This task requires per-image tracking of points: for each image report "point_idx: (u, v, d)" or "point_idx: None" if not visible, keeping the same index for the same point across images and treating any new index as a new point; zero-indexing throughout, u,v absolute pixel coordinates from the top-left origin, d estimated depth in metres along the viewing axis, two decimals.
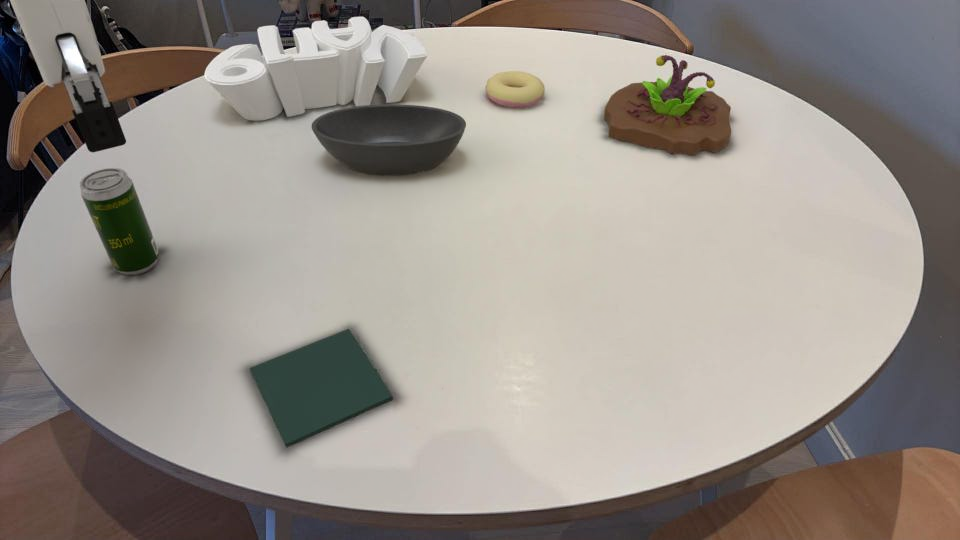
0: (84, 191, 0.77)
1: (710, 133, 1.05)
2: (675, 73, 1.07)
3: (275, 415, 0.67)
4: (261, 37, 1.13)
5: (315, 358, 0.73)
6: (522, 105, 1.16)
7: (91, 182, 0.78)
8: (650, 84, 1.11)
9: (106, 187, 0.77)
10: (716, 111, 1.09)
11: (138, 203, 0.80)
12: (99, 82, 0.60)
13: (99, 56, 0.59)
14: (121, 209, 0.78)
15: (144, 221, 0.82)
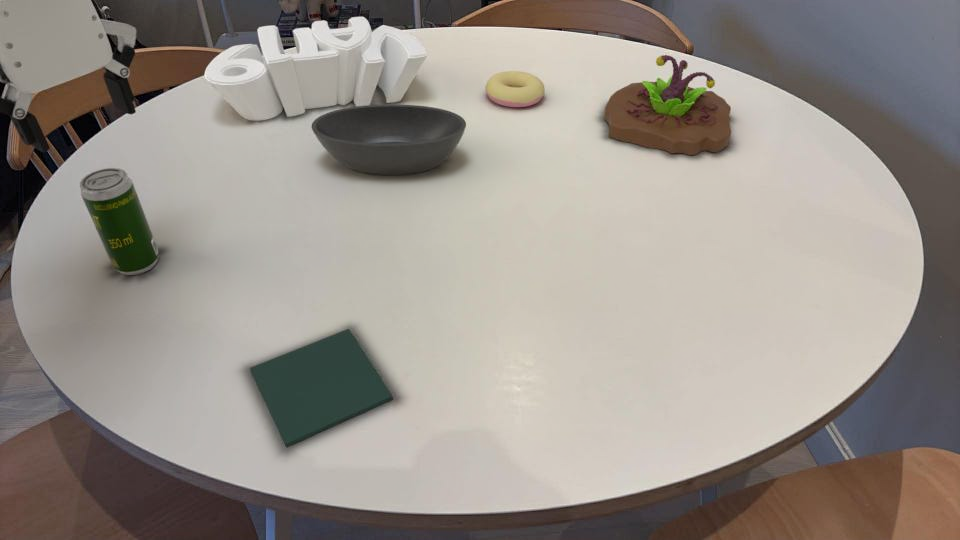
0: (84, 191, 0.77)
1: (710, 133, 1.05)
2: (675, 73, 1.07)
3: (275, 415, 0.67)
4: (261, 37, 1.13)
5: (315, 358, 0.73)
6: (522, 105, 1.16)
7: (91, 182, 0.78)
8: (650, 84, 1.11)
9: (106, 187, 0.77)
10: (716, 111, 1.09)
11: (138, 203, 0.80)
12: (17, 97, 0.66)
13: (16, 77, 0.65)
14: (121, 209, 0.78)
15: (144, 221, 0.82)
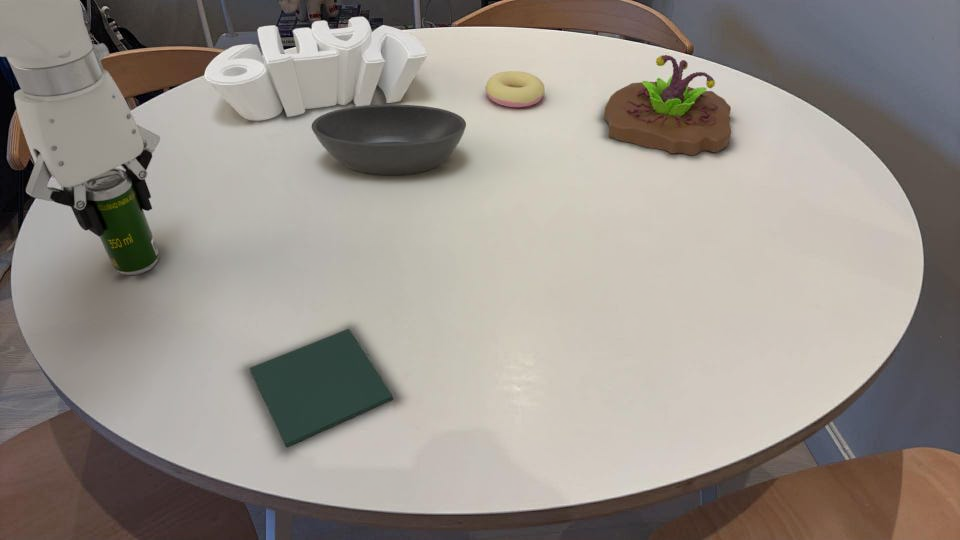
0: None
1: (710, 133, 1.05)
2: (675, 73, 1.07)
3: (275, 415, 0.67)
4: (261, 37, 1.13)
5: (315, 358, 0.73)
6: (522, 105, 1.16)
7: (91, 182, 0.78)
8: (650, 84, 1.11)
9: (106, 187, 0.77)
10: (716, 111, 1.09)
11: (137, 203, 0.80)
12: (73, 193, 0.74)
13: (59, 175, 0.72)
14: (121, 209, 0.78)
15: (144, 221, 0.82)
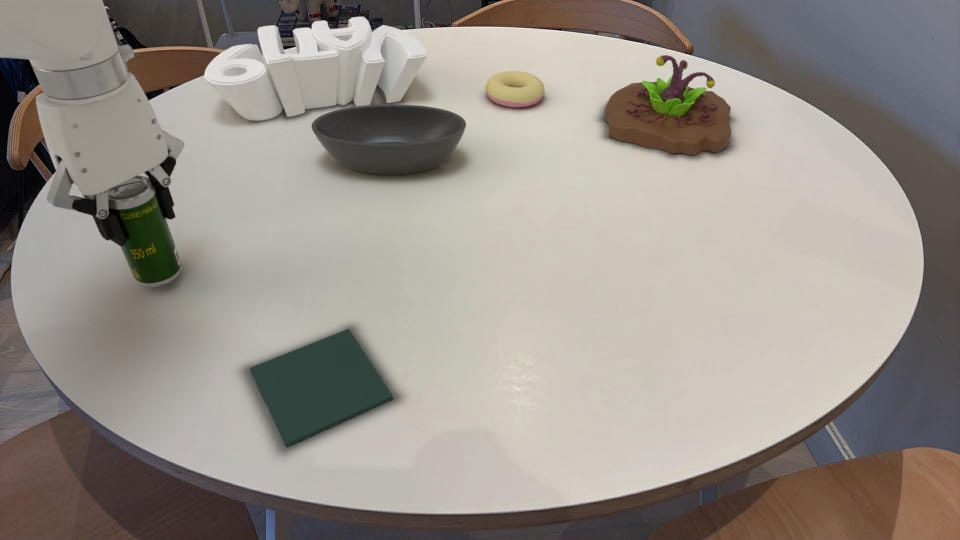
0: None
1: (710, 133, 1.05)
2: (675, 73, 1.07)
3: (275, 415, 0.67)
4: (261, 37, 1.13)
5: (315, 358, 0.73)
6: (522, 105, 1.16)
7: (113, 190, 0.74)
8: (650, 84, 1.11)
9: (129, 195, 0.73)
10: (716, 111, 1.09)
11: (161, 212, 0.77)
12: (96, 201, 0.71)
13: (81, 182, 0.68)
14: (144, 218, 0.75)
15: (167, 230, 0.78)
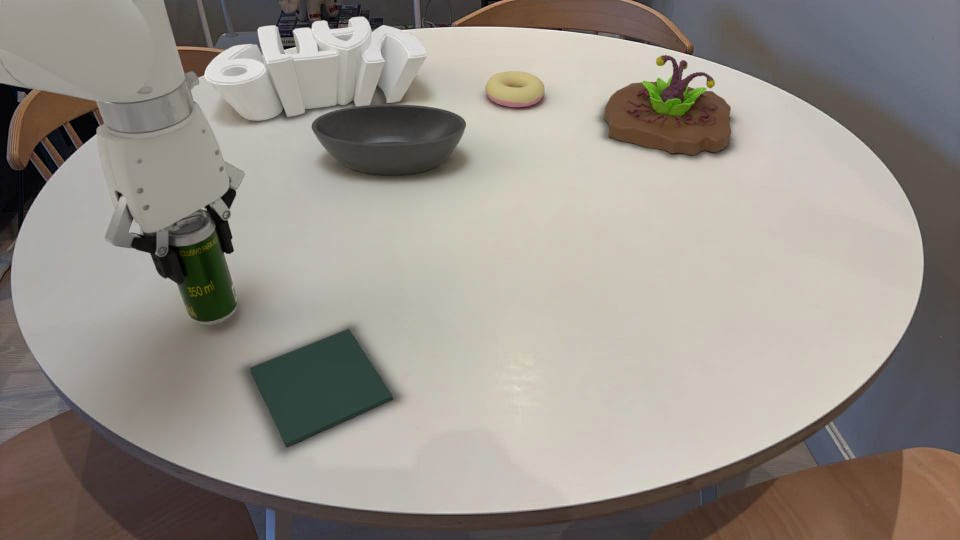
0: None
1: (710, 133, 1.05)
2: (675, 73, 1.07)
3: (275, 415, 0.67)
4: (261, 37, 1.13)
5: (315, 358, 0.73)
6: (522, 105, 1.16)
7: (171, 225, 0.70)
8: (650, 84, 1.11)
9: (190, 230, 0.68)
10: (716, 111, 1.09)
11: (220, 247, 0.72)
12: (156, 238, 0.66)
13: (143, 220, 0.63)
14: (204, 254, 0.70)
15: (226, 266, 0.74)
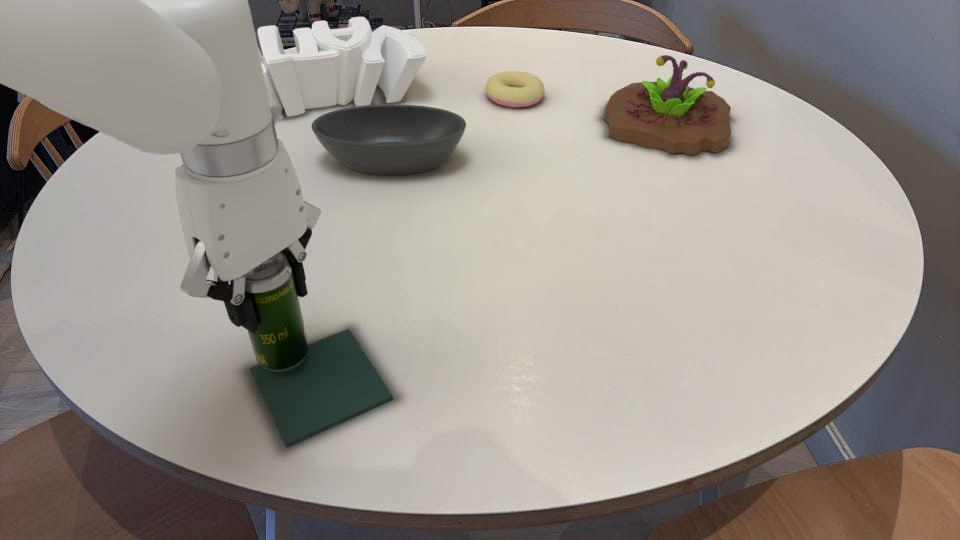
0: None
1: (710, 133, 1.05)
2: (675, 73, 1.07)
3: (275, 415, 0.67)
4: (261, 37, 1.13)
5: (315, 358, 0.73)
6: (522, 105, 1.16)
7: None
8: (650, 84, 1.11)
9: (266, 276, 0.63)
10: (716, 111, 1.09)
11: (295, 291, 0.67)
12: (232, 286, 0.61)
13: (222, 268, 0.58)
14: (280, 301, 0.65)
15: (299, 310, 0.68)
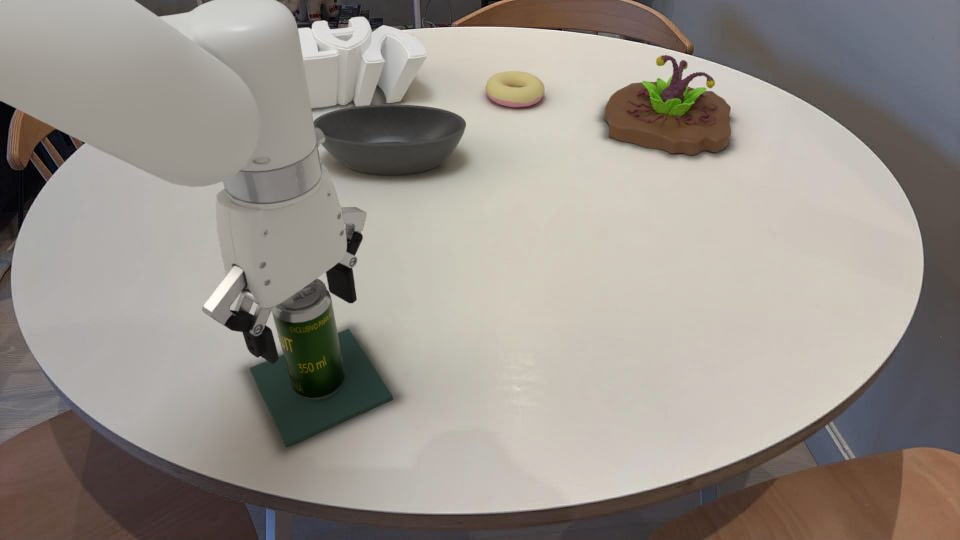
0: (279, 310, 0.61)
1: (710, 133, 1.05)
2: (675, 73, 1.07)
3: (275, 415, 0.67)
4: None
5: None
6: (522, 105, 1.16)
7: None
8: (650, 84, 1.11)
9: (306, 305, 0.62)
10: (716, 111, 1.09)
11: (334, 318, 0.65)
12: (258, 313, 0.58)
13: (263, 296, 0.56)
14: (320, 330, 0.63)
15: (337, 338, 0.67)
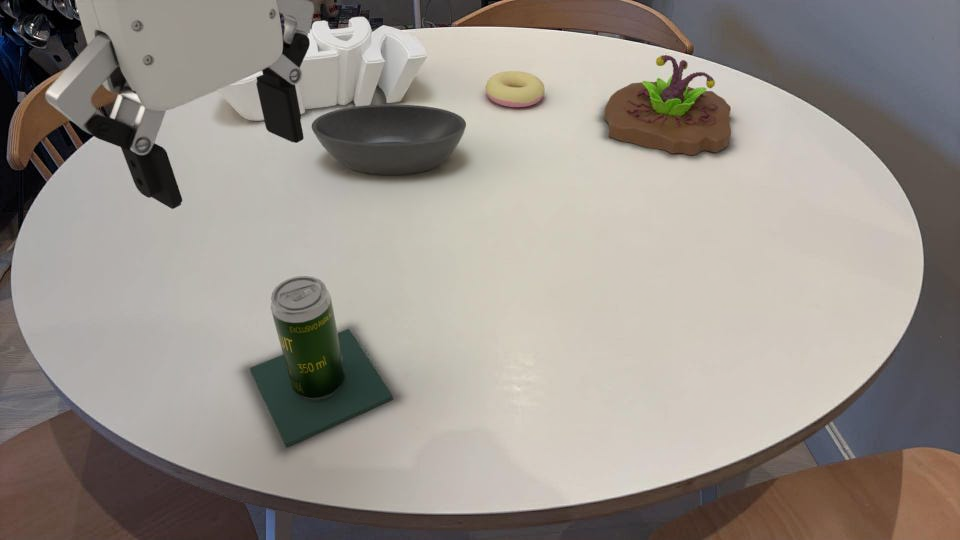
0: (279, 311, 0.61)
1: (710, 133, 1.05)
2: (675, 73, 1.07)
3: (275, 415, 0.67)
4: None
5: None
6: (522, 105, 1.16)
7: (284, 297, 0.63)
8: (650, 84, 1.11)
9: (306, 305, 0.62)
10: (716, 111, 1.09)
11: (334, 318, 0.65)
12: (140, 117, 0.38)
13: (143, 84, 0.37)
14: (320, 330, 0.63)
15: (337, 338, 0.67)
